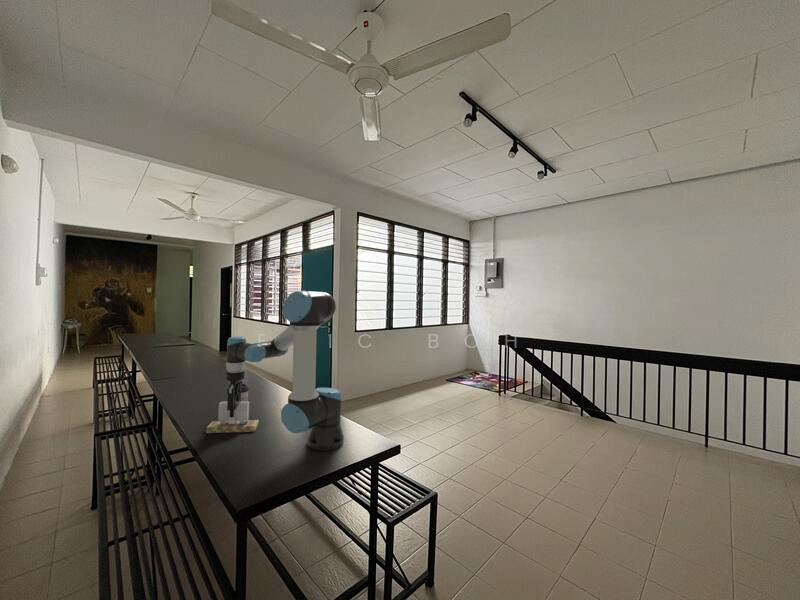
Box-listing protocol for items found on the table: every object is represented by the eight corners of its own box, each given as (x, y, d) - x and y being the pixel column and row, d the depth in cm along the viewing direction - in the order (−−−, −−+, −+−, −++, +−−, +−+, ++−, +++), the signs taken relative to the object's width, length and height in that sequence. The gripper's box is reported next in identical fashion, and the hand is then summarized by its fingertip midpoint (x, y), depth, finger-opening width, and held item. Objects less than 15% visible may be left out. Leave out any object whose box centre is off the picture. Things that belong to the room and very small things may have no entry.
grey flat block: (248, 426, 149) (249, 401, 149) (246, 429, 146) (247, 403, 146) (220, 427, 147) (221, 401, 147) (217, 430, 144) (218, 403, 144)
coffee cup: (239, 419, 157) (240, 389, 157) (223, 417, 159) (224, 387, 159) (251, 412, 166) (252, 384, 166) (236, 410, 168) (237, 382, 168)
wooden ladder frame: (258, 425, 152) (258, 419, 152) (254, 431, 145) (254, 426, 145) (212, 426, 148) (212, 421, 148) (206, 432, 141) (206, 427, 141)
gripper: (232, 366, 154) (231, 414, 154) (219, 375, 137) (217, 429, 138) (249, 366, 155) (247, 414, 155) (238, 375, 139) (236, 429, 139)
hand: (233, 421), depth 146 cm, fingers open, 4 cm apart
